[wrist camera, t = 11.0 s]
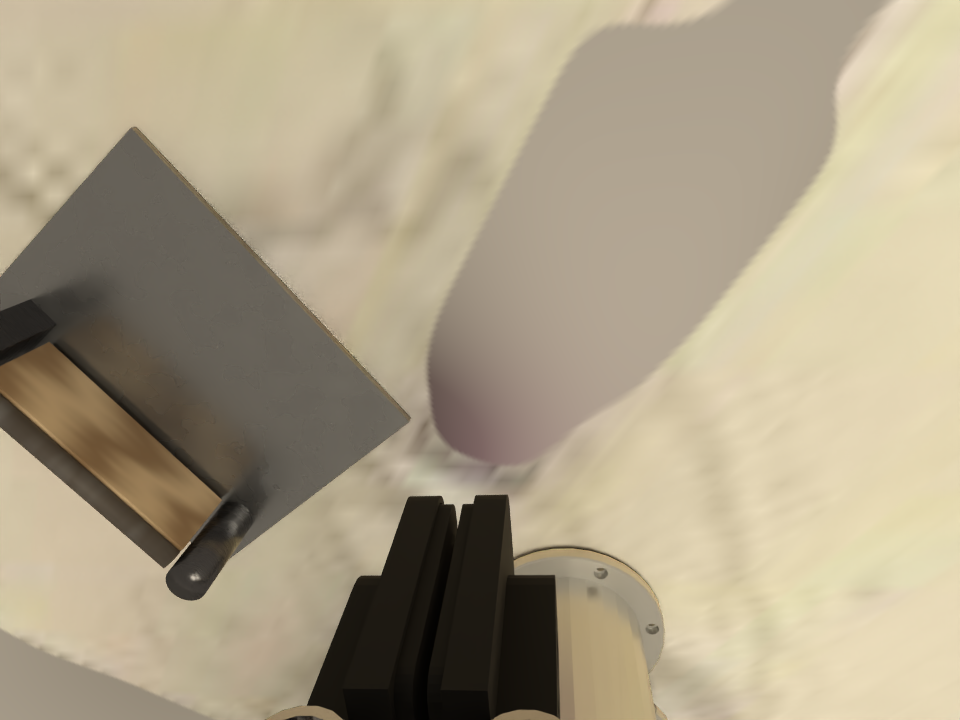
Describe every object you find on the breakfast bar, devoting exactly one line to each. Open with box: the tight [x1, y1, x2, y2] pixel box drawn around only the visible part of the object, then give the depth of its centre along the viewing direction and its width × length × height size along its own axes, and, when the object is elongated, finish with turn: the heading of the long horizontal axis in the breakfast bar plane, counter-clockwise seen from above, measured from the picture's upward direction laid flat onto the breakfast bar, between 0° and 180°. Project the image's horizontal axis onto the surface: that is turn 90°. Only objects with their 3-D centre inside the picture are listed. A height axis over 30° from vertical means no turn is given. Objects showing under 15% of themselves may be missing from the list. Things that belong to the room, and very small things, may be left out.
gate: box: [0, 342, 222, 568], centre depth 39 cm, size 14×2×6 cm, turn 41°
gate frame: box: [0, 128, 411, 600], centre depth 38 cm, size 22×18×7 cm
